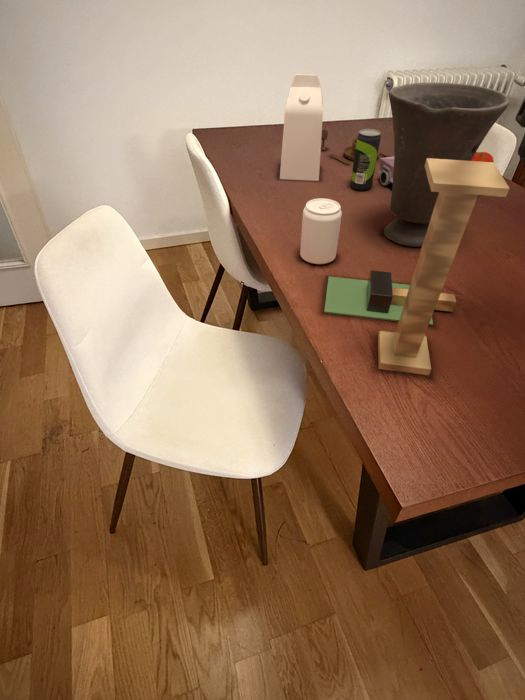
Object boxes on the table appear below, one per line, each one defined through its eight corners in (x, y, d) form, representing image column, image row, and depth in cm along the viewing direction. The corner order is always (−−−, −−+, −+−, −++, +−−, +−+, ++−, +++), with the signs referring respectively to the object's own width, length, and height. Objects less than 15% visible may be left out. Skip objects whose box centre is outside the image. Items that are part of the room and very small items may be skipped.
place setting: (350, 167, 130) (353, 147, 126) (315, 148, 143) (317, 130, 138) (391, 158, 136) (395, 139, 132) (354, 141, 149) (357, 123, 145)
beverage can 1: (293, 252, 92) (296, 202, 84) (322, 244, 95) (328, 194, 86) (312, 270, 87) (317, 217, 79) (342, 260, 90) (350, 209, 81)
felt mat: (426, 288, 82) (426, 286, 82) (432, 325, 74) (433, 324, 74) (328, 277, 85) (328, 276, 85) (323, 312, 76) (324, 311, 76)
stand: (424, 342, 71) (493, 162, 49) (428, 375, 65) (510, 188, 44) (377, 336, 72) (426, 157, 50) (378, 369, 66) (433, 182, 45)
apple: (465, 183, 121) (479, 144, 113) (490, 193, 116) (506, 153, 108) (446, 189, 117) (459, 150, 110) (471, 200, 112) (486, 159, 105)
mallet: (448, 295, 80) (455, 278, 77) (454, 321, 74) (462, 304, 71) (366, 286, 82) (370, 270, 79) (366, 310, 76) (370, 293, 73)
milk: (319, 166, 130) (328, 70, 112) (318, 180, 122) (328, 79, 104) (282, 165, 131) (285, 69, 113) (279, 179, 123) (282, 78, 105)
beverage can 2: (375, 189, 118) (386, 133, 107) (357, 193, 116) (367, 136, 105) (362, 181, 122) (372, 127, 111) (345, 185, 120) (353, 130, 109)
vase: (472, 237, 97) (530, 93, 76) (422, 270, 87) (473, 114, 66) (397, 207, 109) (429, 75, 88) (345, 233, 99) (367, 91, 78)
